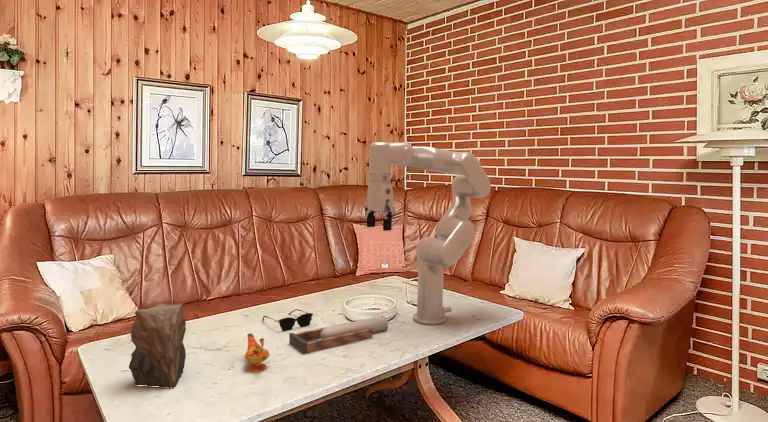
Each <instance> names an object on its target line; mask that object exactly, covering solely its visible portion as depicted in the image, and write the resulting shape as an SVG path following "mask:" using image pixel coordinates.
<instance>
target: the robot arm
mask: <svg viewBox="0 0 768 422" xmlns="http://www.w3.org/2000/svg"><path fill="white" fill-rule="evenodd" d="M368 149H369V150H368V152H369V153H368V155H369V156H368V186H367V194H366V200H365V201H364V202H363V205H364V211H365V212H366V213H365V215H366V228H374V227H376V215H375V214H376V213H380V214H382V216H383V218H382V231H384V232H387V231H388V232H389V231H392V227H393V226H392V224H393V222H392V221H393V218H394V215H395V211H396V209H397V207H396V205H394V190H393V184H392V183H391V181H392V178H391V177H392V165H393V166H399V167H400V166H401V167H404V168H405V167H406V168H412V169H417V170H421V171H429V172H430V171H431V172H437V173H442V174H447V175H448V174H449V175H450V174H451V175H456V176H455V177H454V178H453V180H452V182H451V193H452V202H451V204H450V206H449V208H448V209H447V210H446V211H445V213H444V214H443V215H442V217H441V218H440V220H439V221H438V222H437V224H436V225H435V228H434V234H435V236H436V237H433V236H426V237H425V236H424V237H423V238H420V239H419V241H418V242H417V244H416V247H415V254H416V261H417V272H418V273H417V299H416V300H417V301H416V302H417V305H416V306H417V307H416V313H414V314H413V315H412V319H413V321H414V322H416V323H418V324H422V325H428V326H431V325H432V326H433V325H435V326H436V325H441V324H444V323H445V322H447V316H446V315H445V314H446V313H450V312H453V311H452V307H451V306H448V307H445V306H443V302H444V301H443V299H444V269H443V267H444V268H451V267H453V266H454V265H456V263H457V262H458V261H459V260H460V259H461V257H462V256H463V255H464V253H465V252H466V251H467V249H468V248H469V246H470V245H471V244H472V242H473V240H474V237H475V233H476V229H475V225H474V223H473V222H472V221H471V220H469V219H470V217H471V215H472V211H473V209H472V208H473V207H472V203H471V202H472V201H471V198H473V199H474V198H475V199H484V198H485V197H487V196H488V195H489V194H490V193H491V189H492V188H491V187H492V185H491V181H490V178H489V176H488V175H487V173H486V171H485V170H484V167H483V166H482V164H481V162H479V161H480V160H479V159H478V158H477V157H476V156H475V155H474V154H473V153H472V152H470V151H454V150H453V151H452V150H446V149H441V148H438V147H437V148H436V147H432V146H412V145H411V144H409V143H408V142H394V141H393V142H384V141H383V142H382V141H381V142H380V141H379V142H371V143H370V144H369V148H368Z"/></svg>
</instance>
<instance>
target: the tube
mask: <svg viewBox="0 0 768 422" xmlns="http://www.w3.org/2000/svg"><path fill="white" fill-rule="evenodd" d="M355 321H356V322H354V321H350V322H351V323H349V322H345V323H346V324H344V323H340V324H341V325H339V324H335V325H336V326H334V325H330V326H331V327H330V326H326V328H325V327H323V328H324V329H323V330H322V331H321V333H320V336H321V338H320V340H321V339H325V338H330V337H334V336H339V335H343V334H348V333H352V332H357V331H361V330H366V329H372V334H375V333H376V334H377V333H379V332H385V331H387V330H388V329H389V320H388V318H387V317H386V316H385V315H379V316H376V317H371V318H366V319H361V320H355Z"/></svg>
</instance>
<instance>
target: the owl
mask: <svg viewBox="0 0 768 422" xmlns="http://www.w3.org/2000/svg"><path fill="white" fill-rule="evenodd" d="M184 311H185V306H184V303H183V302H180V303H159V304H157V305H156V306H151V307H149V308H140V309H136V310H135V311H134V315H135V316H136V319H135V320H134V322H133V324H132V327H131V331H130V332H131V333H130V338H131V339H130V341H131V342H132V344H133V345H134V346H135V348H134V350H133V351H132V353H131V360H130V362H129V364H128V368H129V370H130V373H131V375H132V377H133V380H134V382H135V383H134V385H135V384H136V385H147V386H159V387H172V388H171V389H175V388H174V387H176V388H177V385H178V383H179V382H178V381H179V380H180V379H181V378H180V377H182V375H183V374H184V369H185V365H186V364H185V363H186V357H187V356H186V355H187V353H186V349H185V348H186V347H185V345H184V343H183V342H184V338H185V334H186V331H187V328H186V325H187V322H186V320H187V319H186V317H185V316H184V313H185V312H184ZM182 373H183V374H182ZM181 374H182V375H181ZM179 378H180V379H179ZM159 387H158V388H159Z"/></svg>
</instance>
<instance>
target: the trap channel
mask: <svg viewBox="0 0 768 422" xmlns="http://www.w3.org/2000/svg"><path fill="white" fill-rule="evenodd" d="M356 321H357V320H354V321H353V322H356ZM351 322H352V321H349V322H348V323H351ZM346 323H347V322H345V323H343V324H346ZM341 324H342V323H340V324H338V325H341ZM336 325H337V324H335V325H333V326H336ZM331 326H332V325H330V326H329V327H331ZM326 327H327V326H326ZM326 327H321V328H316V329H312V330H306V331H302V332H297V333H294V332H291V333H289V341H288V343H289V345H291V346H292V347H293V348H295V349H296V350H297V351H299V352H300V353H302V355H306V354H309V353H314V352H319V351H323V350H326V349H327V350H328V349H331V348H337V347H340V346H344V345H349V344H353V343H357V342H362V341H366V340H370V339H373V333H372V329H366V330H361V331H357V332H352V333H348V334H343V335H339V336H334V337H330V338H325V339H321V336H320V333H321V331H322V330H323V329H324V328H326Z"/></svg>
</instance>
